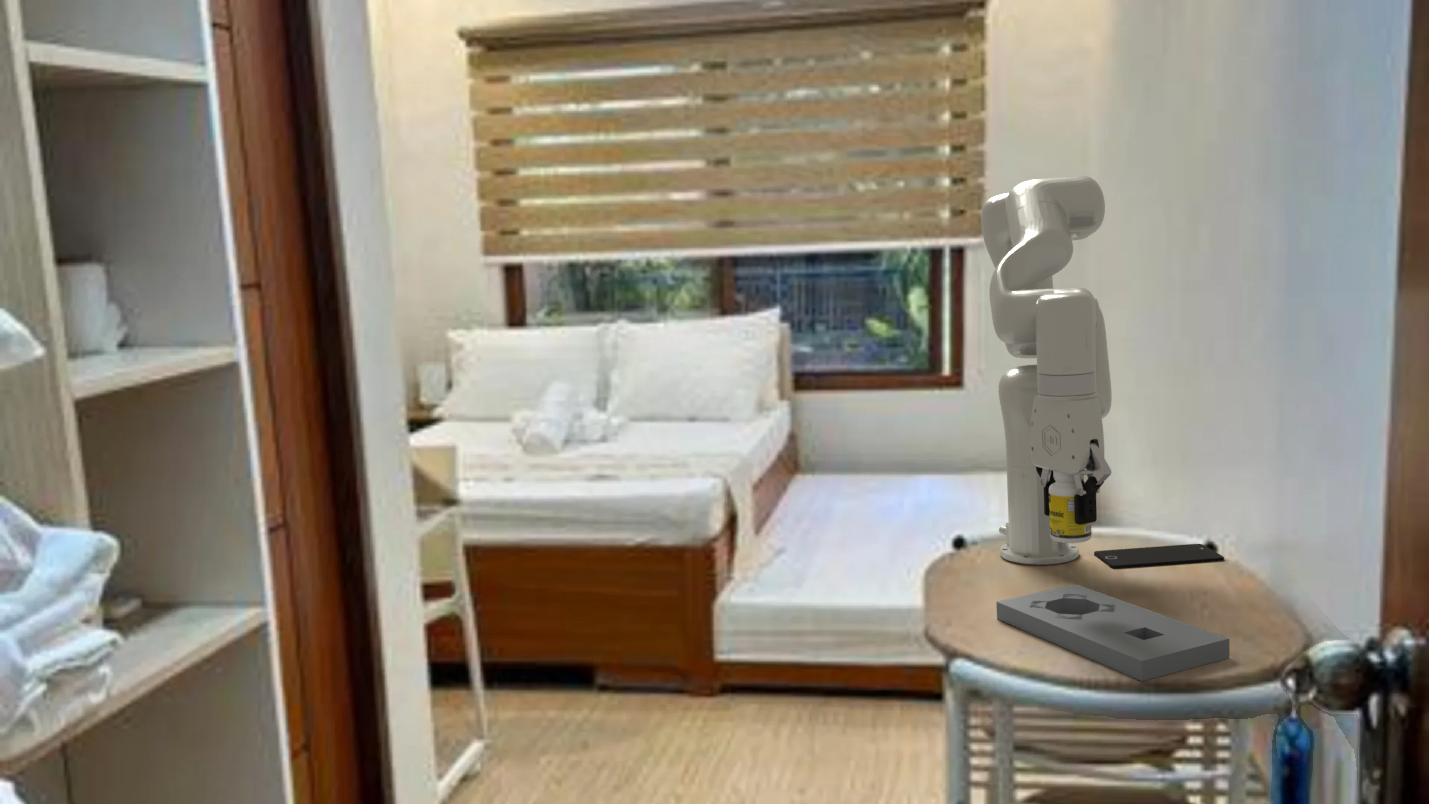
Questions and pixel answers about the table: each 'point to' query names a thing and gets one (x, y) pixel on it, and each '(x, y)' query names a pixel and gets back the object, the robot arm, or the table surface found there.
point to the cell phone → (1158, 556)
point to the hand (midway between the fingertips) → (1070, 517)
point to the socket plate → (1113, 631)
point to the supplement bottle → (1065, 511)
